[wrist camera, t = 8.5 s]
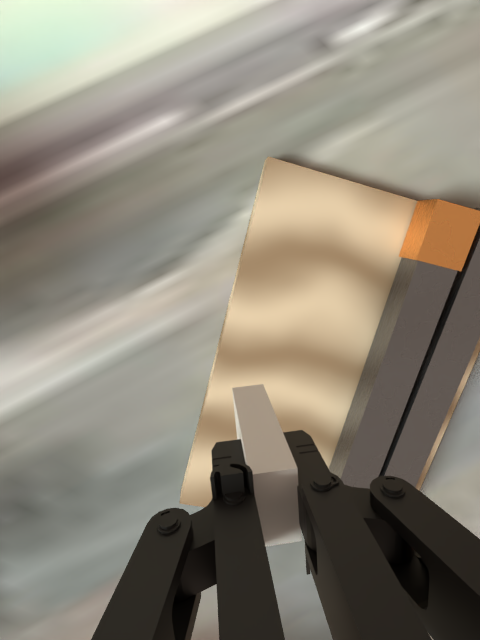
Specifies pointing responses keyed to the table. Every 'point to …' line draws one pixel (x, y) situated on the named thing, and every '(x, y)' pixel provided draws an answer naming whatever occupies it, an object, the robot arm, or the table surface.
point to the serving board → (304, 310)
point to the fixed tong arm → (438, 373)
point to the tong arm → (403, 335)
